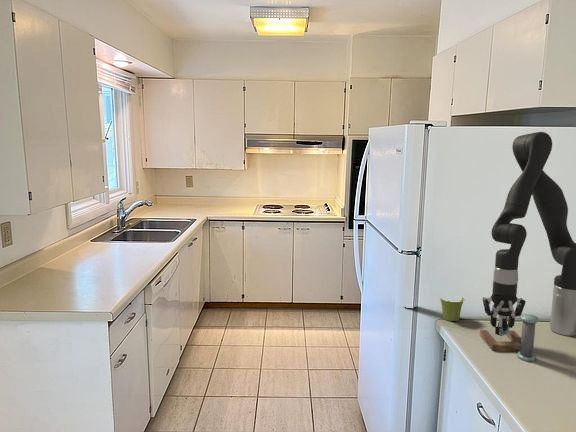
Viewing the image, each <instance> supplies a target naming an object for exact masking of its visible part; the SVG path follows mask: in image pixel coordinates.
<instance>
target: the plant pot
mask: <svg viewBox="0 0 576 432" xmlns="http://www.w3.org/2000/svg"><path fill="white" fill-rule="evenodd" d="M438 298H439V301H440V303H441V311H442V318H443V319H444V320H445V321H449V322H453V321H455V322H457V321H459V320H460V317H461V311H462V306H463V304H464V302H465V297H463V296H462V300H461V301H460V302H450V301H445V300H443V299H441V298H440V297H439V296H438Z"/></svg>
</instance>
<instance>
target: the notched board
mask: <svg viewBox="0 0 576 432" xmlns="http://www.w3.org/2000/svg"><path fill="white" fill-rule="evenodd" d="M479 336H480V338H481V339H482V340H483V342H484V343H485V344H486V345H487V346H488V348H489V349H490V350H491V351H494V352H520V349H521V335H520V334H519V333H517V332H516V330H509V333H508V334H507V335H506V337H507V338H509V340H510V341H505V340H504V341H501V340H500V341H499V340H498V341H497V340H496V338H495V337H494V336H493V335H492V334H491V333H490V332H489V331H488V329H480V330H479Z"/></svg>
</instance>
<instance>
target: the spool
mask: <svg viewBox="0 0 576 432" xmlns="http://www.w3.org/2000/svg"><path fill="white" fill-rule="evenodd" d="M519 317H520V318H519V319H520V321H521V322H522V323H521V325H522V326H521V335H520V337H521V349H520V351H517V358H518V359H520V360H521V361H524V362H528V363H530V362H531V363H533V362H535V361H536V355H535V354H534V345H535V344H534V343H535V334H536V333H535V332H536V324H537V323H539V317H538V316H536V315H533V314H531V313H530V314H529V313H523V314H521V316H519Z"/></svg>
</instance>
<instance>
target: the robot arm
mask: <svg viewBox="0 0 576 432" xmlns="http://www.w3.org/2000/svg"><path fill="white" fill-rule="evenodd" d="M552 148H553V140H552V137H551V136H550V134H548V132H545V131H538V132H532V133H526V134H522V135H519V136H517V137H515V139H514V140H513V142H512V148H511V149H512V152H513V156H514V158H515V161H516V163H517V164H518V166H519V168H520V170H521V174H520V175H519V176H518V177H517V179H516V180H515V181H514V183H513V184H512V185H511V187H510V189H509V191H508V193H507V196H506V200H505V204H504V207H503V209H502V210H501V211H502V212H500V215H499V216H498V218H497V219H496V221H495V223H493V225H492V228H491V238H492V239H493V241H495V242H498V243H501V244H507V245H510V246H509V248H507V249H506V248H505V249H498V250H497V251H496V252H495V260H494V261H495V262H494V270H493V279H492V280H493V281H492V294H491V296H489V297H482V303H483V308H484V313H485V314H486V315H487V316H489V317H490V321H489V322H490V325H491V326H492V328H496V327H497V321H498V320H497V319H498V318H497V316H498V312H499V311H500V309H501V308H509V309H510V311H512V313H511V315H510V316H508V319H507V325H508V326H509V327H510V328H509V329H512V328H513V327H514V326H515V322H516V321H515V319H516V317H520V316H521V315H522V313H523V311H524V308H525V305H526V303H527V302H526V299H524V298H522V297H517V294H518V283H519V271H518V270H519V260H520V259H519V258H520V255H521V251H522V250H523V246H524V244H525V241H526V239H527V236H528V235H527V234H528V233H527V229H526V227H525V226H524V225H522V224H521V223H511V222H512V221H513V220H517V219H523V218H525V217H526V216H527V213H528V209H529V206H530V201H531V198H532V199H533V202H534V204H535V207H536V209H537V212H538V215H539V217H540V220H541V223H542V225H543V227H544V230H545V232H546V237H547V240H548V243H549V247H550V248H549V249H550V251H551V256H552V258H553V260H554V261H555V262H556V263H557V264H559V265H560V266H562V267H561V273H560V274H559V275H555V276H554V278H553V289H552V299H551V311H550V312H551V313H550V314H551V315H550V323H549V329H550V330H551V332H554V333H556V334H559V335H563V336H568V337H570V336H571V337H573V336H576V242H575V241H574V240H573V239H572V235H571V234H570V231H569V229H568V225H567V223H568V215H569V207H568V203H567V200H566V199H567V198H566V197H565V194H564V191H563V189H562V188H561V186H560V185H559V184H558V183H557V182H556V181H555V180H553V179H552V178H551V177H550V176H549V175H548V174H547V173H546V171H544V168H545V165H546V164H547V161H548V159H549V157H550V155H551V152H552ZM491 302H492V303H493V304H492V307H490V305H491ZM515 304H516V307H515V309H514V305H515Z"/></svg>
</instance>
